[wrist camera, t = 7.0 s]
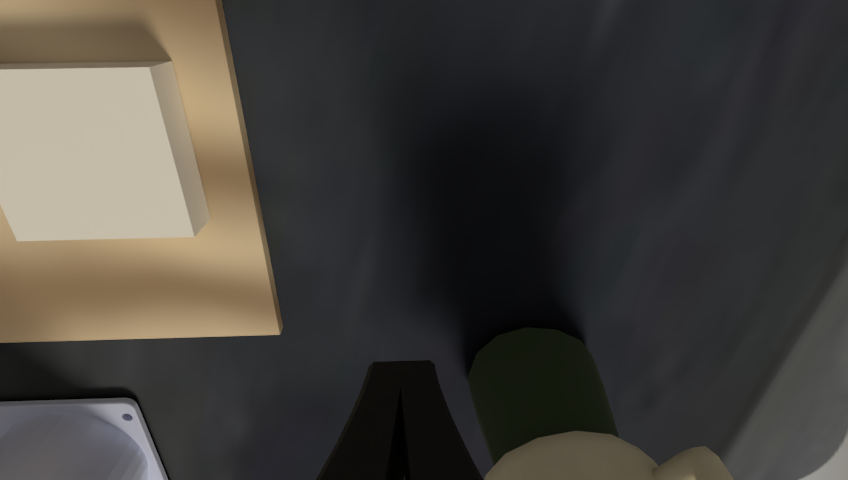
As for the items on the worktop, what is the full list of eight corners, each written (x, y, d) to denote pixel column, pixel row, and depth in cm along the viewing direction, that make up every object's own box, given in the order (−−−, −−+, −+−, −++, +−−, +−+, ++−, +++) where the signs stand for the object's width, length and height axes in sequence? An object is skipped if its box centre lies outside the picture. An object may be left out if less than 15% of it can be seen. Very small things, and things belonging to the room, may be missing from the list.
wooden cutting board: (282, 326, 22) (279, 334, 22) (-17, 335, 22) (-28, 343, 21) (192, -157, 14) (183, -163, 13) (-293, -155, 14) (-322, -161, 13)
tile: (194, 236, 17) (17, 241, 17) (211, 218, 19) (47, 222, 19) (149, 67, 15) (-63, 70, 15) (172, 60, 16) (-20, 63, 16)
